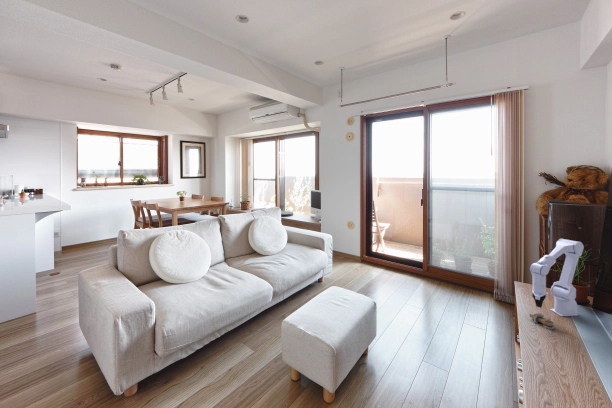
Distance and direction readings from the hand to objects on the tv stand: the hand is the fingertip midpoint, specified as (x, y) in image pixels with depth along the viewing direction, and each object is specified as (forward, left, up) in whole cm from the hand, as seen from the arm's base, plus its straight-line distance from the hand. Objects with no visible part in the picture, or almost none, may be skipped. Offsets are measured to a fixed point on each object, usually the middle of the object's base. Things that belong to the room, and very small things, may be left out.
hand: (539, 306), depth 153 cm
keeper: (+3, +3, -7) cm, 8 cm away
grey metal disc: (+1, +8, -7) cm, 11 cm away
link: (+2, +4, -6) cm, 8 cm away
